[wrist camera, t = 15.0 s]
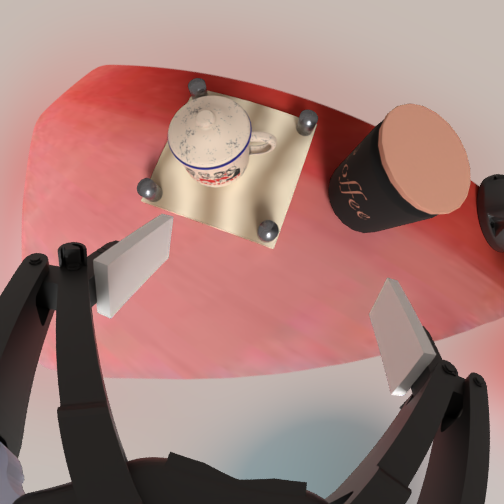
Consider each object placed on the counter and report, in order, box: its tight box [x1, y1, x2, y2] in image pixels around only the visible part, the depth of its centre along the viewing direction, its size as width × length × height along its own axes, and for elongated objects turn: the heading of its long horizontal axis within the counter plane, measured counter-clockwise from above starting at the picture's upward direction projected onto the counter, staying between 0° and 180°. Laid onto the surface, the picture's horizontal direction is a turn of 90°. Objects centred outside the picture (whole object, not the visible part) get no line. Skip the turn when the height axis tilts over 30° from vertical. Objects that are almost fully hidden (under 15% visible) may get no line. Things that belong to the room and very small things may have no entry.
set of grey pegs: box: [137, 78, 318, 243], centre depth 34 cm, size 18×18×4 cm
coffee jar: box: [329, 104, 470, 233], centre depth 29 cm, size 11×11×18 cm
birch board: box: [141, 91, 317, 249], centre depth 37 cm, size 19×19×2 cm
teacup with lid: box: [168, 96, 277, 188], centre depth 30 cm, size 12×9×12 cm
